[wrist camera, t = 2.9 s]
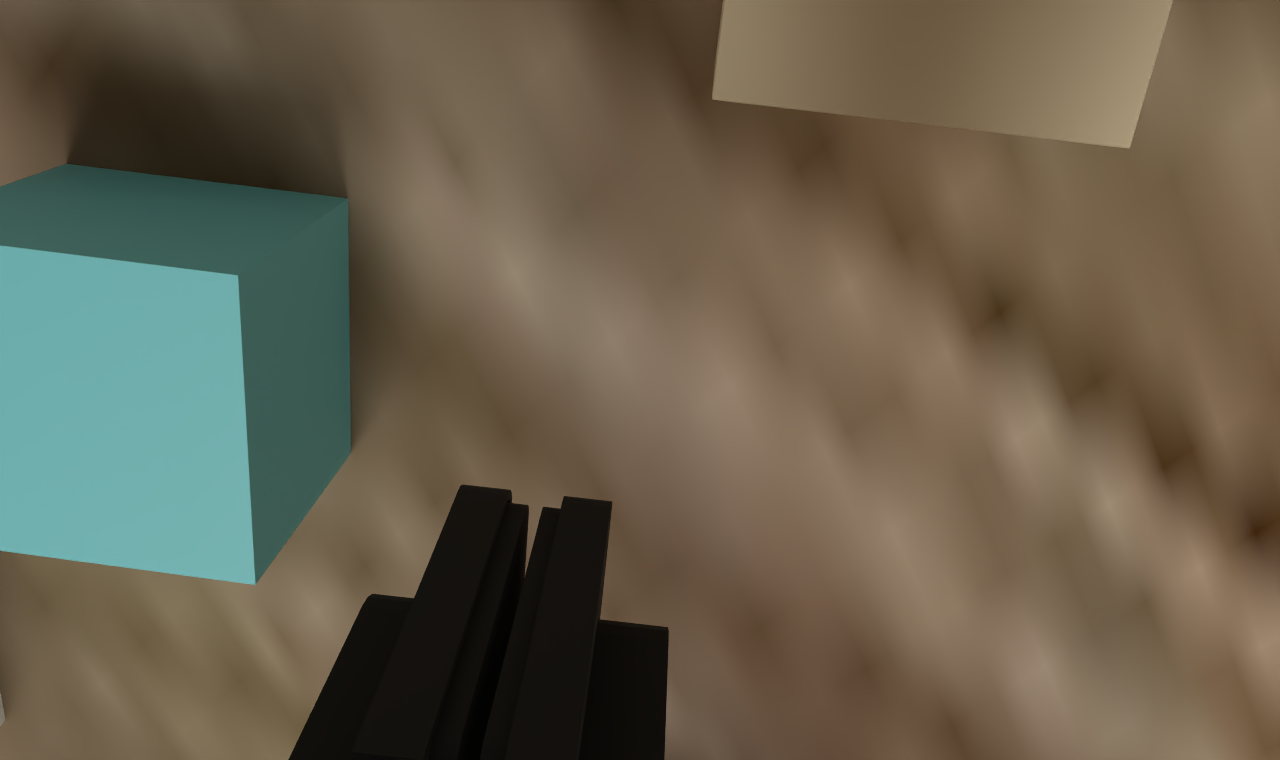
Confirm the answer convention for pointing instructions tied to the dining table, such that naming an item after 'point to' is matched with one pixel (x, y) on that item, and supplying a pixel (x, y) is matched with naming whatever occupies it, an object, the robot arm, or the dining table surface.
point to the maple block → (948, 62)
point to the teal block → (168, 368)
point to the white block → (1, 712)
